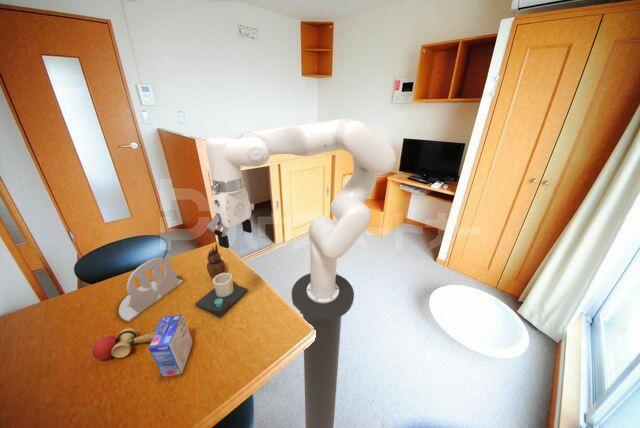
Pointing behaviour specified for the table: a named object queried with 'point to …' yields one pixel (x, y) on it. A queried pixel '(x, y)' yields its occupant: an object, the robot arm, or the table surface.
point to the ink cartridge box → (171, 345)
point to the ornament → (148, 287)
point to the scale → (229, 301)
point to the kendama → (119, 344)
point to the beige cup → (223, 284)
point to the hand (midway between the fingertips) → (236, 238)
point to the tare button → (219, 303)
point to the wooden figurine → (215, 263)
